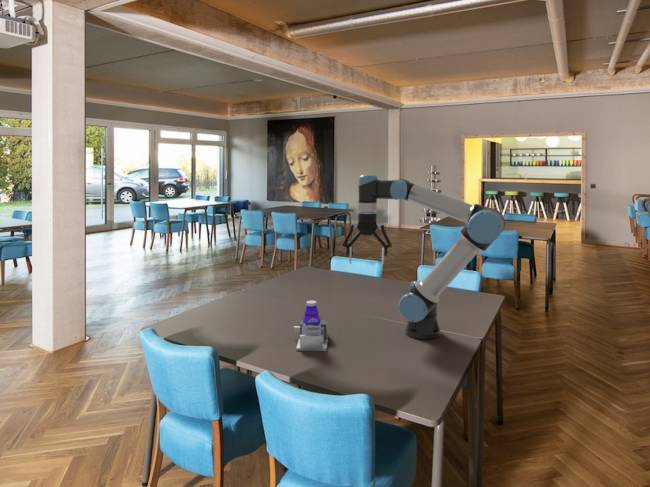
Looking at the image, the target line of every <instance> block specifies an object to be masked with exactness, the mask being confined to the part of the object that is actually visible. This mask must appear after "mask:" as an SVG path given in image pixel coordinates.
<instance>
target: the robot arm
mask: <svg viewBox="0 0 650 487" xmlns="http://www.w3.org/2000/svg"><path fill="white" fill-rule="evenodd" d="M357 187H358V204H357V205H358V212H359V213H358V217H357V219H358V220H357V221H358V222H357V224H353V223H351V224H350V229H349V230H348V232H347V235H346V236H345V238H344V240H343V243H342V247H345V248H346V256H349V265H351V264H352V245H354V243H355V242H356V240H358V238H359V237H360V236H361V235H362V236H374V237H375V239H376V240H378V242H379V243H380V244H381V245H382V246H383V247H382V248H381V264H382V265H384V264H385V257H387V255H388V248H390V247H392V245H393V244H392V243H391V241H390V239H389V237H388V235H387V232H386V231H385V226H384V224H382V223H381V224H378V225H377V212H378V208H377V207H378V206H377V205H378V203H377V202H378V201H377V200H380V199H381V200H382V199H383V200H395V201H397V200H404V201H408V202H411V203H413V204H416V205H418V206H421V207H424V208H426V209H427V210H431V211H433V212H436V213H439V214H441V215H444V216H447V217H449V218H452V219H454V220H458V221H460V222H463V223H464V224H465V225H464V226H463V227H462V229H461V230H460V234H459V235H460V237H459V238H458V239H457V241H456V242H455V243H454V244H453V245H452V247H450V248H449V250H448V251H447V252H446V253H445V254H444V255H443V257H442V258H441V259H440V260H439V261H438V263H436V265H434V267H433V268H432V269H431V271H430V272H429V273H428V274H427V275H426V276H425V277H424V279H422V280H414V281H413V280H412V281H411V282H410V284H409V290H408V291H407V292H406V293H405V294H404V295H402V297H401V298H400V299H399V302H398V311H399V314H400V315H401V316H402V317H403V319H405V320H406V324H405V326H404V333H405V335H407V336H408V337H410V338H414V339H419V340H420V339H421V340H432V339H437V338H439V337H440V336H441V326H440V324H439V320H438V303H439V302H440V298H439V297H440V295H441V294H442V293H443V292H444V291H445V289H446V288H448V286H449V285H450V284H451V283H452V282H453V281H454V279H455V278H457V276H458V275H459V274H460V272H462V271H463V270H464V269H465V267H466V266H468V264H469V263H470V262H471V261H472V260H473V259H474V258H475V256H476V255H477V254H478V253H480V252H485V251H486V250H488V249H489V248H490V246H491V245H492V244H493V243H494V242H495V241H496V240H497V239H498V238H499V237H500V236H501V234H502V232H503V231H504V229H505V227H506V219H505V217H504V215H503V213H502V212H501V211H500V210H498V209H496V208H493V207H487V206H484V205H481V204H478V203H474V204H471V203H468V202H465V201H462V200H459V199H458V198H453V197H452V196H448V195H445V194H443V193H440V192H437V191H435V190H432V189H429V188H426V187H424V186H420V185H418V184H416V183H412V182H410V181H409V180H407V179H403V178H400V179H393V180H391V179H390V180H389V179H388V180H381V179H378V176H377V175H374V174H372V175H369V174H362V175H360V176H359V177H358V186H357ZM356 229H357V230H358V232H357V233H356V234H355V235H354V236H353V238H352V239H351V240H350V238H351V236H352V234H353V232H354V230H356ZM377 229H379V231H381V234H382V235H383V237H384V239H385V241H386V243H385V242H384V240H383V239H382V238H381V237H380V236H379V234H378V233H377V232H376V231H377ZM349 240H350V241H349Z"/></svg>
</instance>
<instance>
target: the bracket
mask: <svg viewBox="0 0 650 487" xmlns="http://www.w3.org/2000/svg"><path fill="white" fill-rule="evenodd" d="M299 336H300V338H299V337H298V340H297V344H296V348H295V351H299V352H300V351H305V352H306V351H307V352H308V351H309V352H311V351H312V352H327V350H328V349H327V348H328V340H329V338H328V339H324V327H321V335H303V327H302V335H300V334H299Z"/></svg>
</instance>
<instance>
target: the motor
mask: <svg viewBox="0 0 650 487" xmlns="http://www.w3.org/2000/svg"><path fill="white" fill-rule="evenodd" d="M302 327H303V319H301V320H300V323H299V325H294V326H293V332H299V336H298V339H299V338H300V335H302ZM321 327H324V339H328V340H329V333H328V320H327V319H321Z"/></svg>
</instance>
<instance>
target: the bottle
mask: <svg viewBox="0 0 650 487" xmlns="http://www.w3.org/2000/svg"><path fill="white" fill-rule="evenodd" d="M305 305H306V306H305V309H304V310H305V311H304V312H303V313H304V316H303V318H302V320H303V335H321V320H322V319H321V317H320V315H319V313H320V312H319V309H318V306H317V301H316V300H307V301H306V304H305Z"/></svg>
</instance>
